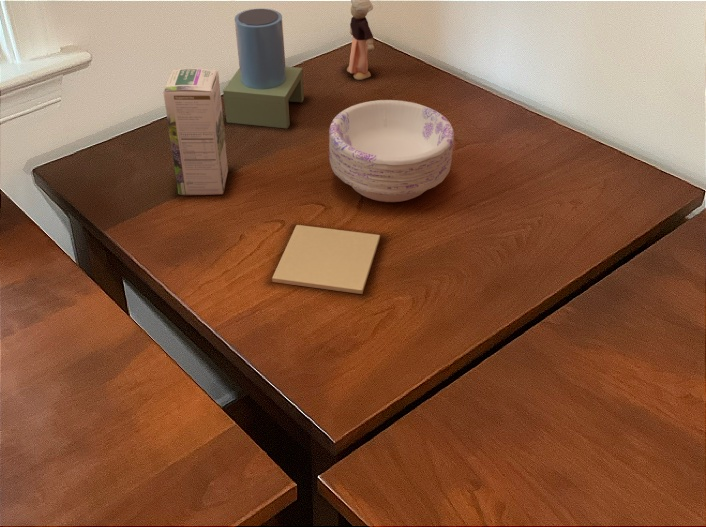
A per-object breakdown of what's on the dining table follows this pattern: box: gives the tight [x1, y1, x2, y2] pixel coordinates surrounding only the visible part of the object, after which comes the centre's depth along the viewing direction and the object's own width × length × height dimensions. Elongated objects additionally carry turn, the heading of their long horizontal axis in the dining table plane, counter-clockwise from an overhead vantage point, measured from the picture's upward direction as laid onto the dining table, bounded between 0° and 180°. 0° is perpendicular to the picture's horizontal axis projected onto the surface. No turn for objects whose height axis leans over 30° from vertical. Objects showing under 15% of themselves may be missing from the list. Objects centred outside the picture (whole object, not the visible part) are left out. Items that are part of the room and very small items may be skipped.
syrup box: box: [163, 67, 229, 196], centre depth 100 cm, size 6×6×14 cm
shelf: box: [222, 66, 305, 130], centre depth 117 cm, size 9×9×5 cm
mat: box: [271, 224, 381, 295], centre depth 92 cm, size 10×10×1 cm
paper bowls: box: [328, 99, 455, 203], centre depth 102 cm, size 15×15×8 cm
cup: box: [234, 8, 287, 89], centre depth 113 cm, size 6×6×9 cm
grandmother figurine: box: [346, 0, 375, 81], centre depth 124 cm, size 8×4×13 cm, turn 34°
